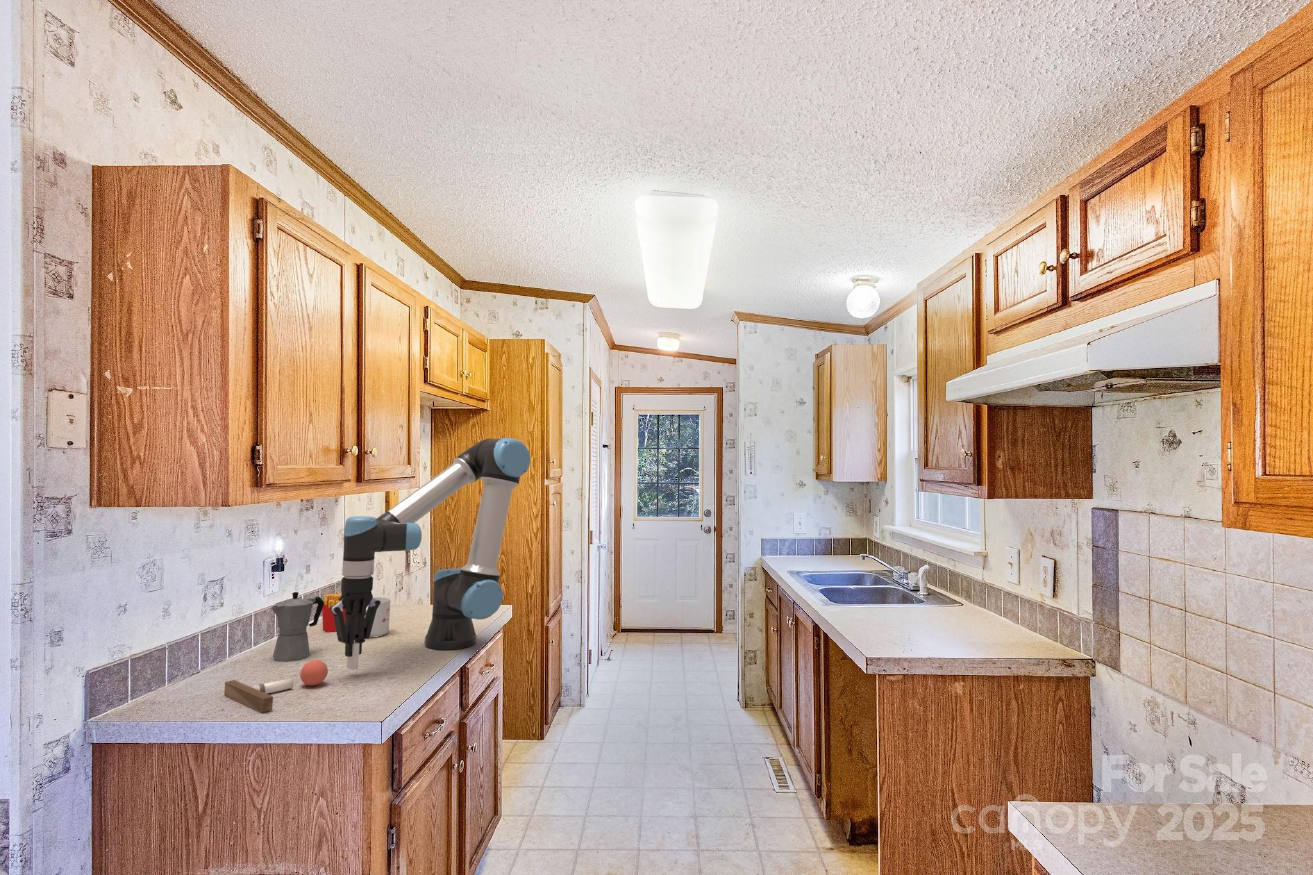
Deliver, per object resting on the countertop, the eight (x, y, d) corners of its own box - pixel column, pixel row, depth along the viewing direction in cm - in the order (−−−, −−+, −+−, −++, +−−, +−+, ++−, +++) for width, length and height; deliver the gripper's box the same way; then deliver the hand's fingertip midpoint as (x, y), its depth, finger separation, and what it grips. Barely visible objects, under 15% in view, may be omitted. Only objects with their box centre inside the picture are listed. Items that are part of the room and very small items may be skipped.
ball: (290, 676, 157) (308, 688, 161) (302, 680, 154) (321, 691, 157) (307, 653, 161) (324, 665, 164) (319, 656, 157) (337, 669, 161)
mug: (366, 630, 212) (368, 596, 213) (393, 631, 212) (395, 597, 213) (348, 640, 200) (350, 603, 201) (376, 641, 200) (378, 605, 201)
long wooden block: (233, 692, 152) (234, 679, 152) (272, 710, 142) (273, 696, 142) (224, 695, 150) (225, 681, 150) (262, 713, 140) (263, 699, 140)
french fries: (318, 632, 208) (321, 594, 209) (324, 629, 212) (326, 592, 213) (345, 632, 209) (347, 595, 209) (350, 629, 213) (352, 592, 213)
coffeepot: (278, 665, 173) (282, 597, 174) (257, 659, 178) (262, 593, 179) (330, 652, 187) (334, 589, 188) (310, 647, 191) (314, 585, 192)
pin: (289, 688, 157) (250, 697, 150) (288, 678, 157) (250, 686, 150) (293, 688, 155) (254, 696, 148) (293, 677, 156) (254, 685, 149)
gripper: (372, 571, 176) (367, 660, 174) (325, 577, 165) (319, 671, 163) (388, 575, 171) (383, 665, 170) (341, 580, 161) (336, 677, 159)
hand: (352, 668), depth 167 cm, fingers closed
